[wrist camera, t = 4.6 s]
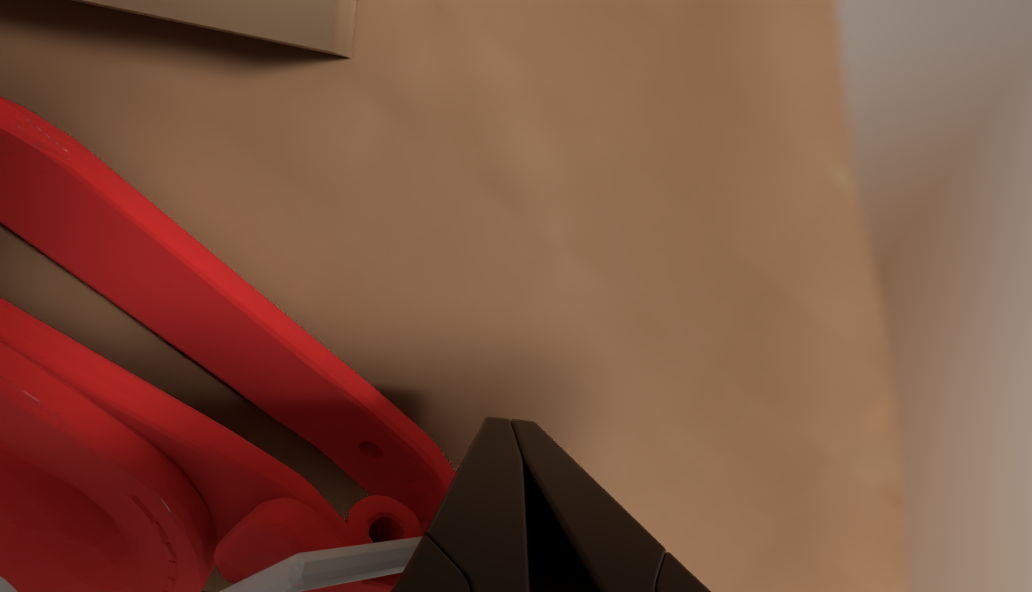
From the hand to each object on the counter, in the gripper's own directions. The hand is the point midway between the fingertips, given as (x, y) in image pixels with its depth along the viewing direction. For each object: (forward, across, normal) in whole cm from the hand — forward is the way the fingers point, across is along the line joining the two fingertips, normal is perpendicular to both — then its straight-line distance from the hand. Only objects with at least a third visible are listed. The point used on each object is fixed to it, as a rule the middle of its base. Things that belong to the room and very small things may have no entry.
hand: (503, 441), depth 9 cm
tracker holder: (+2, +6, +2) cm, 7 cm away
